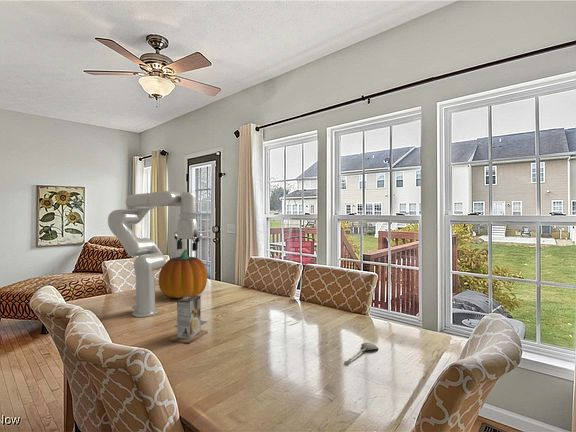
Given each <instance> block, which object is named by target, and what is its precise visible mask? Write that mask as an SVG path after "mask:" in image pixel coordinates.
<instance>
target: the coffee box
mask: <svg viewBox="0 0 576 432" xmlns="http://www.w3.org/2000/svg"><path fill="white" fill-rule="evenodd" d="M176 302H177V303H176V310H177V311H176V319H177V320H176V321H177V322H176V325H177V327H176V328H177V329H176V330H177V332H176V333H177V334H176V335H177V337H178V338H186V339H191V338H192V337H193V336H195V335H196V334H197V333H199V332H200V331H201V330H202V329H201V326H202V325H201V321H202V320H201V318H202V317H201V312H202V311H201V307H202V306H201V295H196V296H190V295H188V296H186V297H184V298H179V299H177V300H176Z"/></svg>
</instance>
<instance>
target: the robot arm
mask: <svg viewBox="0 0 576 432" xmlns="http://www.w3.org/2000/svg"><path fill="white" fill-rule="evenodd" d="M125 205H126V207H127V208H128V209H125V208H123V209H114V210H113V211H111V212H110V213H109V214H108V217H107V226H108V227H109V230H110V232H111V233H112V234H113V235H114V236H115V237H116V238H117V240H118V242H119V243H120V245H122V247H123V249H124V251H126V253H127V254H128V255H129V256H130V257H136V258H135V259H134V261H133V270H134V276H135V303H134V304H132V306H130V308H131V309H132V310H134V311H132V316H133V317H137V318H145V317H151V316H154V315H156V314H159V309H158V308H156V278H155V275H154V272H153V271H158V270H161V269H162V267H163V266H164V265H165V263H166V257H165V255H164V254H163V253H162V251H161V249H160V248H159V247H158V246H157V244H156V243H155V241H153V240H152V238H151V239H150V238H147V237H142V238H140V237H138V235H136V233H135V232H134V231H133V229H131V228H130V227H128V225H137V224H139V223H140V222H141V221H142V220H144V218H145V216H146V215H148V213H149V212H150V210H153V209H157V208H158V207H179V210H180V211H179V214H178V216H179V218H178V221H177V227H176V231H174V232H173V234H172V235H173V236H174V239H175V242H176V250H182V249H183V240H191V242H192V243H191V250H192V251H193V252H196V251H198V243H199V242H200V241H201V238H202V236H203V234H202V233H200V232H199V231H198V222H197V219H196V217H197V216H196V214H197V212H196V211H197V210H196V209H197V208H196V207H197V195H196V193H194V192H190V191H189V192H187V191H186V192H185V191H184V192H178V191H172V190H171V191H169V190H163V191H162V190H161V191H152V192H148V193H147V192H146V193H136V194H135V193H134V194H130V195H129V196H127V197H126V198H125Z"/></svg>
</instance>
